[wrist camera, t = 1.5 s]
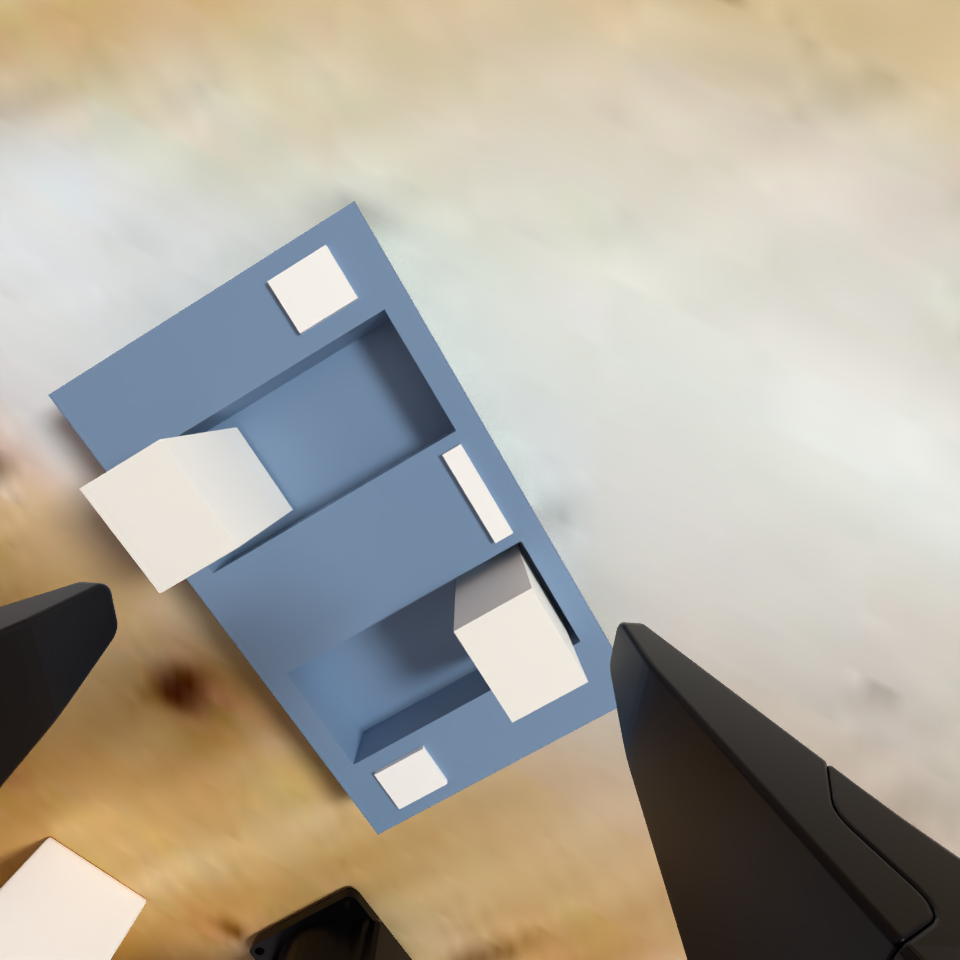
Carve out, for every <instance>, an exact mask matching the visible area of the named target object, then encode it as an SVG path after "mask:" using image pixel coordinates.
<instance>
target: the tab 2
mask: <svg viewBox="0 0 960 960" xmlns="http://www.w3.org/2000/svg"><path fill="white" fill-rule="evenodd" d="M454 633H455V635H456V636H457V638H458V639H459V641H460V642H461V644H462V645H463V647H464V648H465V650H466V652H467V653H468V655H469V656H470V658H471V659H472V661H473V662H474V664H475V666H476V667H477V669H478V670H479V672H480V673H481V675H482V676H483V678H484V679H485V681H486V683H487V684H488V686H489V687H490V689H491V690H492V692H493V693H494V695H495V696H496V698H497V700H498V701H499V703H500V704H501V706H502V707H503V709H504V710H505V712H506V714H507V715H508V717H509V718H510V720H511V721H512V723H513V722H515V721H517V720H518V719H520V718H522V717H524V716H526V715H528V714H530V713H531V712H533V711H535V710H537V709H539V708H541V707H543V706H544V705H546V704H548V703H550V702H552V701H554V700H556V699H558V698H559V697H561V696H563V695H565V694H567V693H569V692H571V691H572V690H574V689H576V688H578V687H580V686H582V685H584V684H585V683H587V682H588V680H587V678H586V675H585V673H584V671H583V668H582V666H581V664H580V661H579V659H578V657H577V654H576V652H575V650H574V647H573V645H572V643H571V640H570V638H569V635H568V633H567V631H566V628H565V626H564V624H563V621H562V619H561V617H560V615H559V613H558V611H557V609H556V608H555V606H554V604H553V603H552V601H551V599H550V598H549V596H548V594H547V593H546V591H545V589H544V588H543V586H542V584H541V582H540V581H539V579H538V577H537V576H536V574H535V572H534V571H533V569H532V567H531V566H530V564H529V562H528V561H527V559H526V557H525V556H524V554H523V552H522V550H521V549H520V547H519V545H518V544H515V545H513V546H511V547H510V548H508V549H506V550H504V551H503V552H501V553H499V554H497V555H496V556H494V557H492V558H490V559H488V560H487V561H485V562H483V563H481V564H480V565H478V566H476V567H474V568H472V569H471V570H469V571H467V572H465V573H464V574H462V575H460V576H458V577H457V578H456V589H455V611H454Z"/></svg>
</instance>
